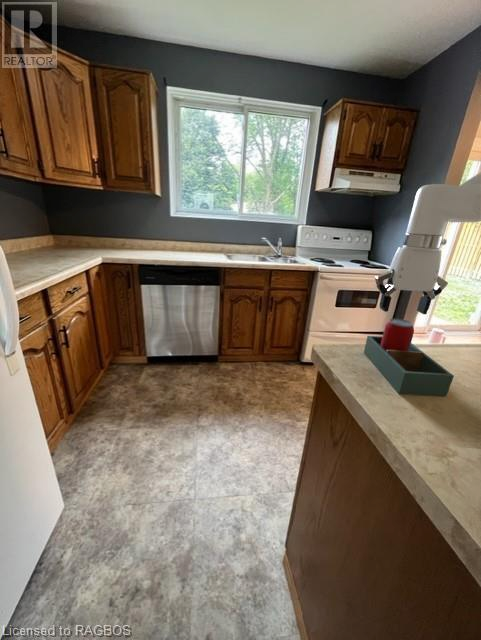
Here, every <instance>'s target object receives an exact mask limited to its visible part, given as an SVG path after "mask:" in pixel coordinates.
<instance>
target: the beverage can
mask: <svg viewBox="0 0 481 640" xmlns="http://www.w3.org/2000/svg"><path fill="white" fill-rule="evenodd" d="M414 333H415V329H414V324H413V322H412V321H409V320H405V319H402V318H390V319H389V321H388V322H387V323H386V324H385V325H384V330H383V333H382V336H381V337H382V341H381V345H380V346H381V347H382V348H383V349H384V350H385V351H386V350H404V351H409V348H410V345H411V343H412V341H413V337H414Z"/></svg>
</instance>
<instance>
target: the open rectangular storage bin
mask: <svg viewBox="0 0 481 640" xmlns="http://www.w3.org/2000/svg"><path fill="white" fill-rule="evenodd" d="M382 337H383V336H378V335H377V336H376V335H367V337H366V341H365V346H364V349H363V354H364V355H365V356H366V358H368V360H369V361H370V362H371V363H372V364H373V366H374V367H375V368H376V369H377V370H378V372H379V373H380V374H381V376H383V377H384V378H385V380H386V381H387V382H388V383H389V385H390V386H391V387H392V388H393V389H394V390H395V392H397V394H398V395H408V396H424V397H425V396H426V397H439V398H447V396H448V393H449V390H450V388H451V385H452V382H453V379H454V377H455V376H454V374H453V373H451V372H450V371H448V370H447V369H446V368H444V367H443V366H441V365H440V363H438V362H437V361H435V360H434V359H433V358H432V357H430V356H429V355H428V354H427V353H425V352H423V351H422V350H421V349H420V348H419V347H417V346H416V345H414V344H413V343H412V342H411V345H410V348H409V351H404V350H386V351H385V350H384V349H383V348H382V347H381V346H380V345H381V341H382Z"/></svg>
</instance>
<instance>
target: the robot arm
mask: <svg viewBox="0 0 481 640" xmlns="http://www.w3.org/2000/svg"><path fill="white" fill-rule="evenodd" d="M480 222H481V171H480V172H479V173H477V174H475V175H474V176H472V177H470V178H469V179H468V180H466V181H464V182H463V183H462V184H460V185H452V184H446V183H432V184H425V185H422V186H420V187H419V188H418V190H417V191H416V194H415V196H414V201H413V206H412V209H411V213H410V216H409V221H408V224H407V228H406V231H405V235H404V240H403V244H402V246H399V247H398V248H397V250H396V252H395V254H394V256H393V257H392V261H391V263H390V266H389V269H388V271H386V272H384V273H382V274H379V275H376V276H375V277H374V280H375V283H376V288H377V290H378V291H379V292H380V294H381V296H380V301H379V309H380V310H381V311H383V312H385V313H386V312H389V309H390V305H391V301H392V296H391V295H392V294H393V293H395V292H396V291H399V290H400V291H411V292H421V293H422V295H421V297H420V298H419V301H418V305H417V308H416V311H417V312H418V313H420V314H422V315H427V314H428V311H429V309H430V306H431V304H432V300H435V299H436V297H437V296H439V295H440V294H441V293H442V292H443V290H444V289H445V288H446V287H447V286H448V284H449V282H448V281H446V280H445V279H444V278H442V277H441V276H440V275H439V273H440V267H441V263H442V250H440V249H441V247H442V246H446V244H447V242H448V241H447V239H446V238H445V233H446V230H447V227H448V223H480ZM384 282H385V284H386V285H384ZM436 284H437V285H436Z"/></svg>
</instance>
